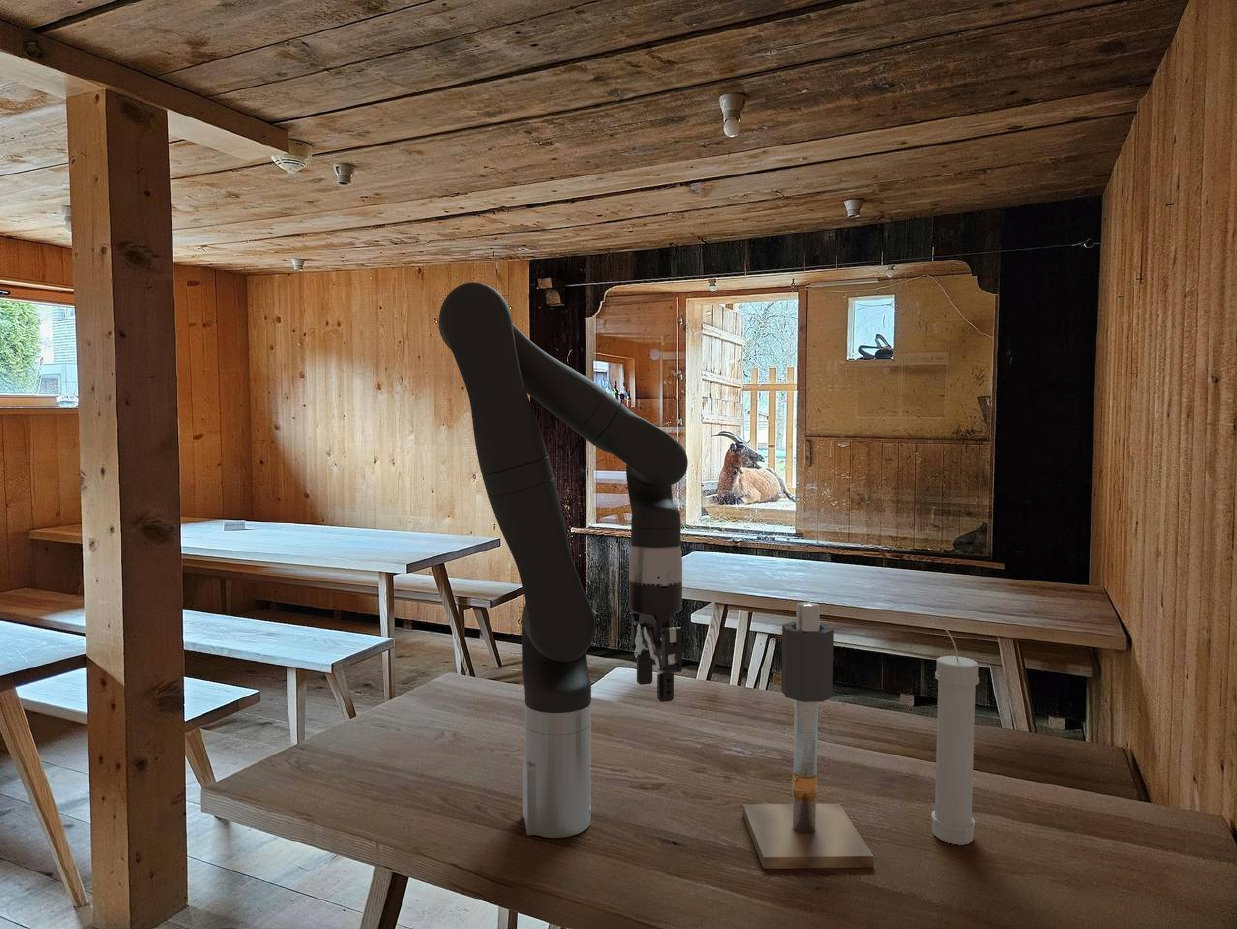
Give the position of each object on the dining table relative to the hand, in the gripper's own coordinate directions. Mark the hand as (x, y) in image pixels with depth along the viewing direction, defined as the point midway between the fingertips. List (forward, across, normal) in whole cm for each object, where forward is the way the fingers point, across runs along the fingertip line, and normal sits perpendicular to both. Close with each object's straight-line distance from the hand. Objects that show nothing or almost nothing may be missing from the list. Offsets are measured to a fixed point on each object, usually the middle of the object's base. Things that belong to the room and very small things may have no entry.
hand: (654, 692), depth 113 cm
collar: (-2, +12, +17) cm, 21 cm away
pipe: (+18, +16, +37) cm, 44 cm away
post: (+18, +11, +18) cm, 28 cm away
